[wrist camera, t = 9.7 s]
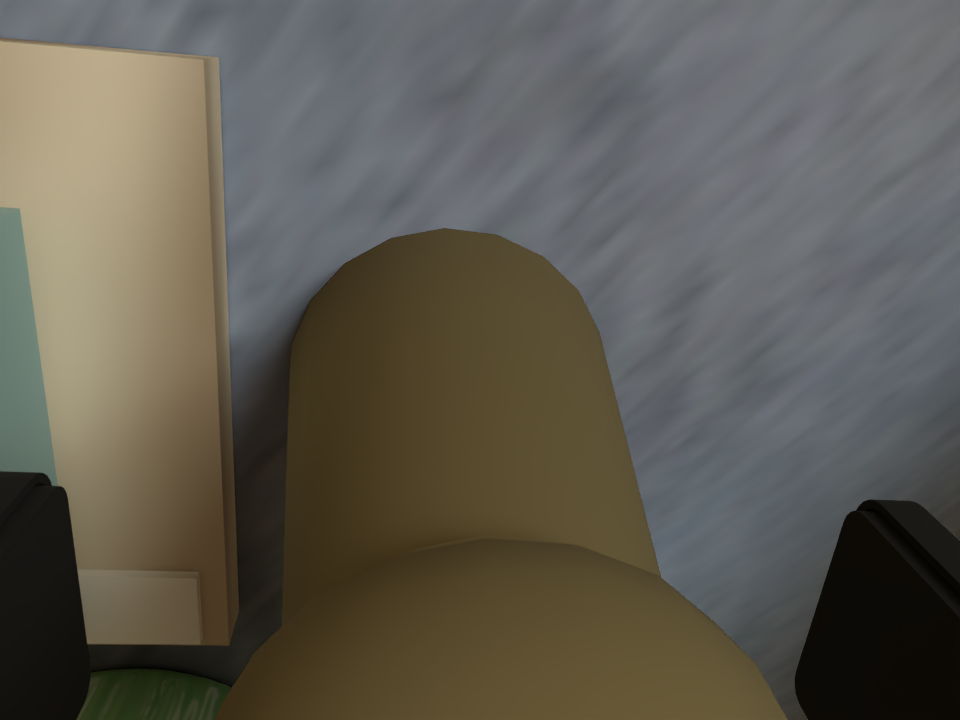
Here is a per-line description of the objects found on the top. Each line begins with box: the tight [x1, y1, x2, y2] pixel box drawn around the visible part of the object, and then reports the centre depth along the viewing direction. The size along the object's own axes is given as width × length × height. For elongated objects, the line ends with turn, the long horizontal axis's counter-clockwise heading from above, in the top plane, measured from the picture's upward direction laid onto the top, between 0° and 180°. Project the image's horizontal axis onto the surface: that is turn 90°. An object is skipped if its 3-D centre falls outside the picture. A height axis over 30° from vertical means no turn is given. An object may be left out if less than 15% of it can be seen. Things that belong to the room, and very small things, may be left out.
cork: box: [214, 228, 788, 720], centre depth 10 cm, size 6×6×11 cm
